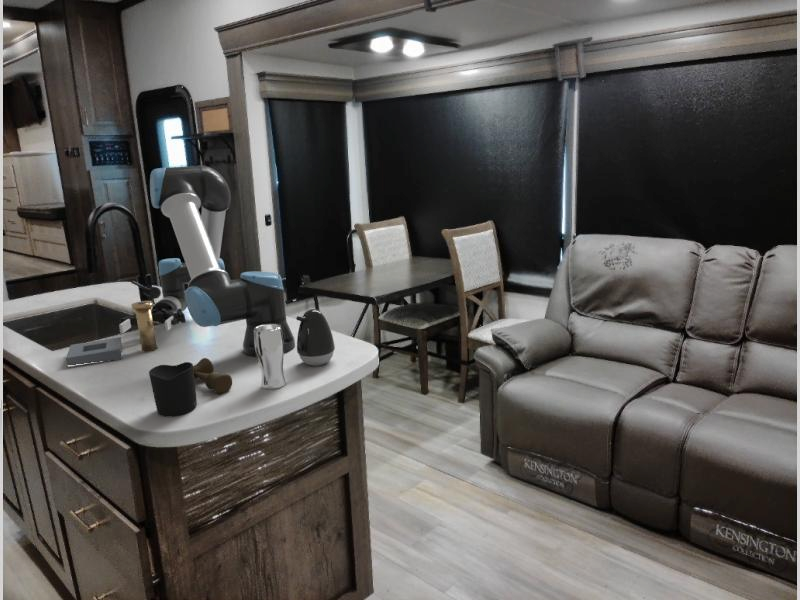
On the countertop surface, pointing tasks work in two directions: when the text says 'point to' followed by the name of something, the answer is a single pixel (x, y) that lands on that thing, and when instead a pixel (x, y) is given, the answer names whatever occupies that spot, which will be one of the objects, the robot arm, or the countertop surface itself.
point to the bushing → (145, 325)
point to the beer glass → (270, 355)
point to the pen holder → (174, 388)
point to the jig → (94, 351)
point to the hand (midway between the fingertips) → (143, 327)
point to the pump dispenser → (314, 338)
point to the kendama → (212, 376)
